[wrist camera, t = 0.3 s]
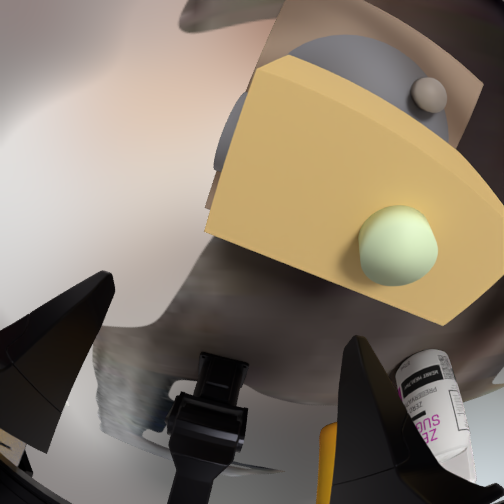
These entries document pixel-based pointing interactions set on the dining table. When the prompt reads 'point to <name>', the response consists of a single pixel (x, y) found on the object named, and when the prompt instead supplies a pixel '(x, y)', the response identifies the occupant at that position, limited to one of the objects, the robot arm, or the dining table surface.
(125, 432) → the dining table surface
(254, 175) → the yellow boxy piece
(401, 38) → the level base
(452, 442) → the supplement can
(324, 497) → the yellow bottle
